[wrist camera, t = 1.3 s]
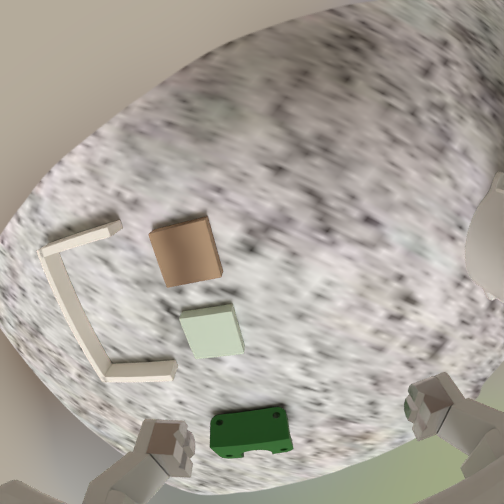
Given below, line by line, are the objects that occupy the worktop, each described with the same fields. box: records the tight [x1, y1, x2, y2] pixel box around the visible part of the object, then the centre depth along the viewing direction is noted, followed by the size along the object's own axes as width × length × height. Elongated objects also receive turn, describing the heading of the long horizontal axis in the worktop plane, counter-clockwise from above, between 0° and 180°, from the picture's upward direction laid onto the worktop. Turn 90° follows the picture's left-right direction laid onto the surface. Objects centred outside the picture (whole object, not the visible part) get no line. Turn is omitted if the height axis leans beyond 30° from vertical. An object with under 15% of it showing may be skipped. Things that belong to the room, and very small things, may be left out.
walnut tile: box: [148, 216, 223, 288], centre depth 29 cm, size 6×6×2 cm
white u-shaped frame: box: [37, 220, 178, 382], centre depth 31 cm, size 12×20×3 cm, turn 13°
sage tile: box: [179, 304, 245, 359], centre depth 32 cm, size 6×6×2 cm
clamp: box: [210, 407, 293, 458], centre depth 36 cm, size 12×6×9 cm, turn 98°
